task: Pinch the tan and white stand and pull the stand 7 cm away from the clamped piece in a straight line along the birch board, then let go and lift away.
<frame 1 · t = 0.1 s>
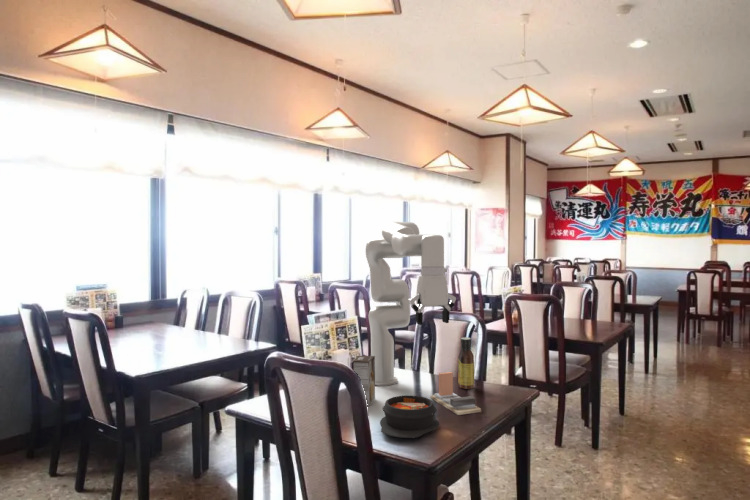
hand: (432, 323, 170), 31 cm above the table, tool pointing down, fingers open, 9 cm apart
ticket board: (454, 404, 182), on the table
sauce bottle: (466, 388, 204), on the table
tan and white stand: (445, 384, 188), point 5 cm above the table, slide at 0.0 cm
casserole: (409, 429, 160), on the table
coffee box: (364, 402, 186), on the table
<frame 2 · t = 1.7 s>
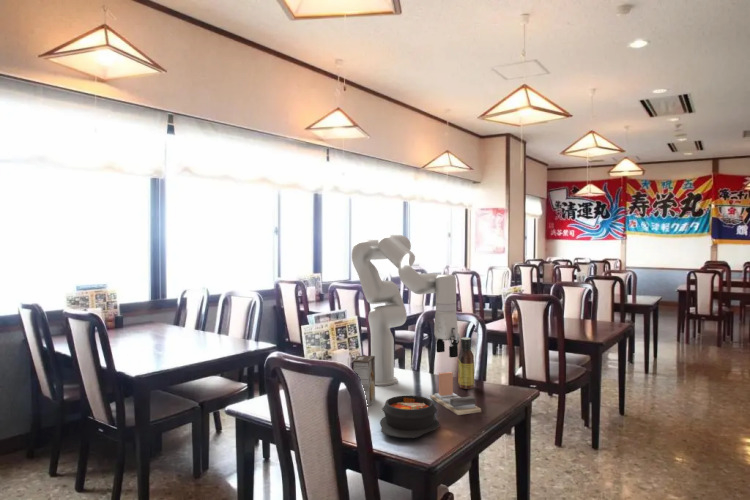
hand: (446, 354, 188), 17 cm above the table, tool pointing down, fingers open, 9 cm apart
nothing on the table moved.
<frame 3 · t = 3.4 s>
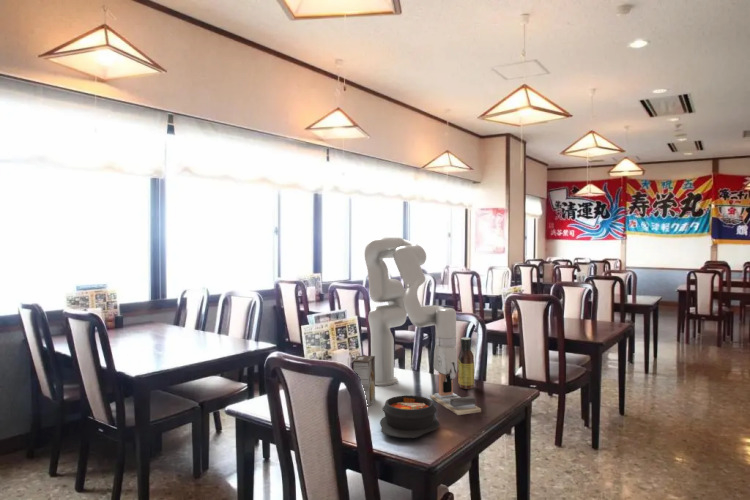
hand: (445, 391, 189), 3 cm above the table, tool pointing down, fingers closed
tan and white stand: (445, 384, 188), point 5 cm above the table, slide at 0.0 cm, touching gripper
everything else where it was.
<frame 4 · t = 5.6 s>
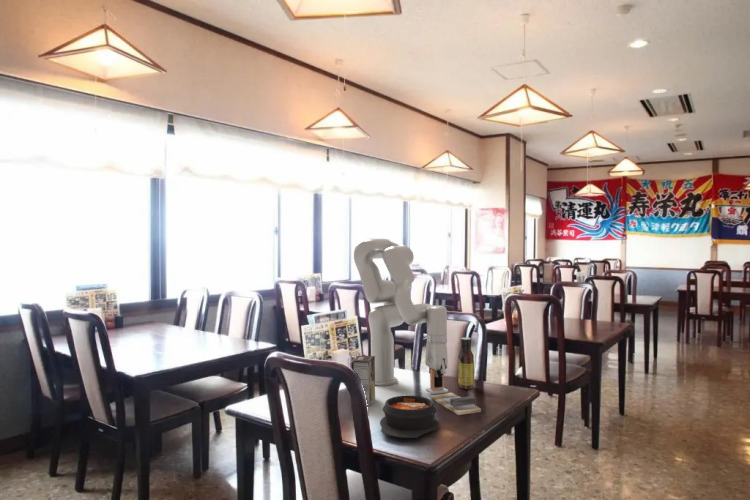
hand: (437, 386, 195), 3 cm above the table, tool pointing down, fingers closed
tan and white stand: (437, 380, 195), point 5 cm above the table, slide at 6.9 cm, touching gripper
everything else where it was.
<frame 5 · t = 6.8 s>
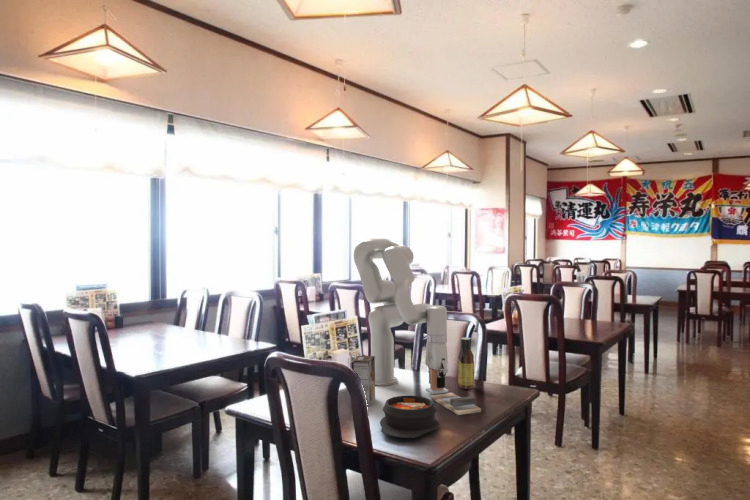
hand: (436, 385, 195), 3 cm above the table, tool pointing down, fingers open, 5 cm apart
tan and white stand: (436, 379, 195), point 5 cm above the table, slide at 7.0 cm
everything else where it was.
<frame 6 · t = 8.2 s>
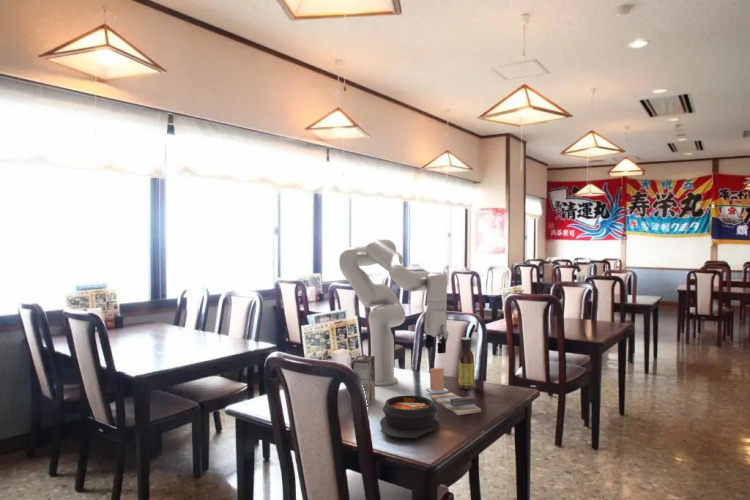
hand: (435, 350, 195), 17 cm above the table, tool pointing down, fingers open, 9 cm apart
nothing on the table moved.
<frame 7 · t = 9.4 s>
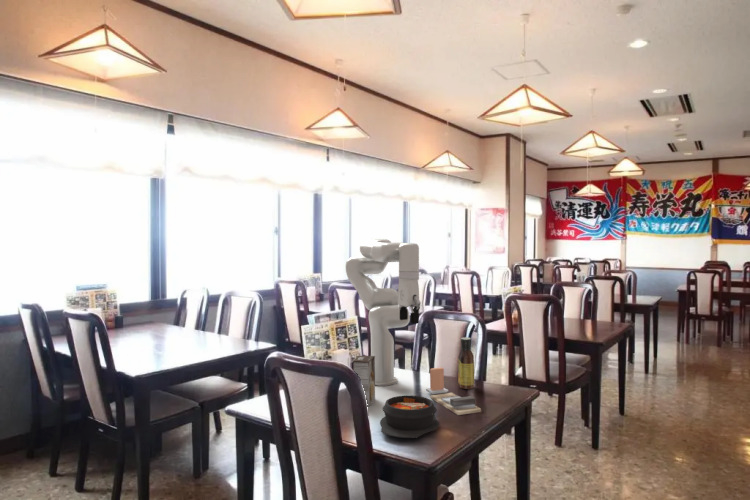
hand: (409, 321, 192), 28 cm above the table, tool pointing down, fingers open, 9 cm apart
nothing on the table moved.
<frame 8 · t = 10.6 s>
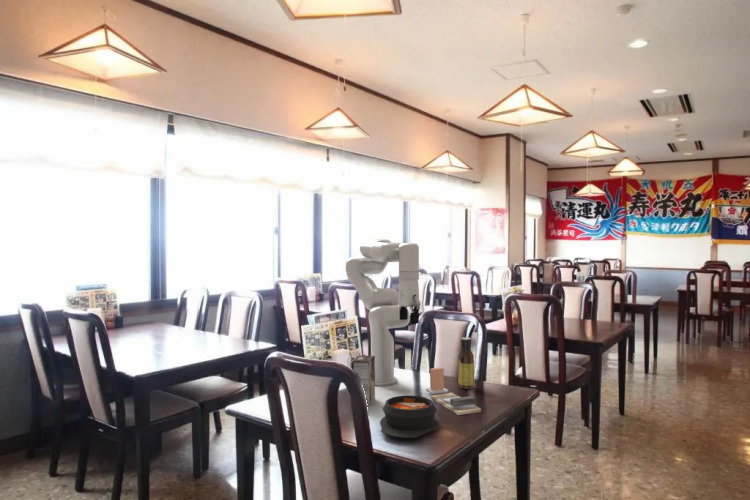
hand: (408, 321, 192), 28 cm above the table, tool pointing down, fingers open, 9 cm apart
nothing on the table moved.
at the end: tan and white stand slide at 7.0 cm; the gripper is holding nothing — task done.
